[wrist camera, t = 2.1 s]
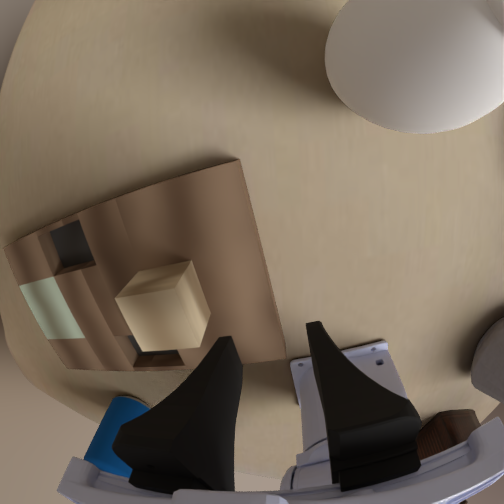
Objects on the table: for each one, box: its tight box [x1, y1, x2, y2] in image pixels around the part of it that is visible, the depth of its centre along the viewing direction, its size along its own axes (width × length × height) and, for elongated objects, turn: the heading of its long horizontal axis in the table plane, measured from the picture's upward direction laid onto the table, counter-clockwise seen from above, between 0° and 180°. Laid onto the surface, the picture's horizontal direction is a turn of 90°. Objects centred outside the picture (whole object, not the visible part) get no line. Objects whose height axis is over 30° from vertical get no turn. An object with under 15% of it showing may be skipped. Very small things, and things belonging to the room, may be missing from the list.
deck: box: [3, 159, 286, 371], centre depth 22 cm, size 26×16×2 cm, turn 104°
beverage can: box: [84, 396, 151, 478], centre depth 25 cm, size 6×6×12 cm
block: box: [115, 260, 211, 352], centre depth 19 cm, size 4×4×4 cm
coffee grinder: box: [416, 410, 481, 504], centre depth 22 cm, size 16×11×18 cm
